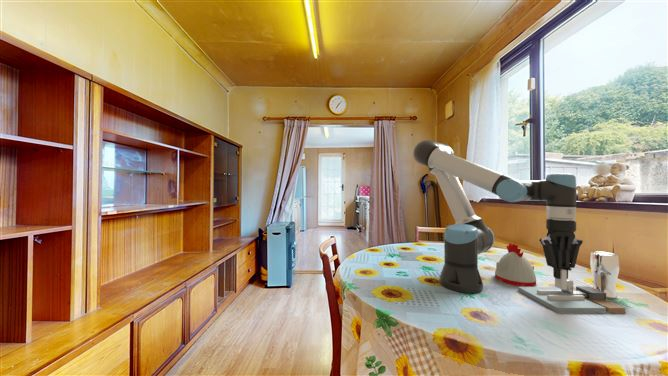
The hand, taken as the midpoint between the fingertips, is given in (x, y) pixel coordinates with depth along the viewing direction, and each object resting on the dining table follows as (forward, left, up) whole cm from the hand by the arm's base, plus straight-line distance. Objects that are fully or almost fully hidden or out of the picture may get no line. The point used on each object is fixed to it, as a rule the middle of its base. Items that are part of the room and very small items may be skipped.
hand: (560, 287), depth 83 cm
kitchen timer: (-1, +19, -5) cm, 20 cm away
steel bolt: (+6, 0, -3) cm, 6 cm away
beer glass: (+21, +5, -5) cm, 22 cm away
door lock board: (+2, 0, -4) cm, 5 cm away
